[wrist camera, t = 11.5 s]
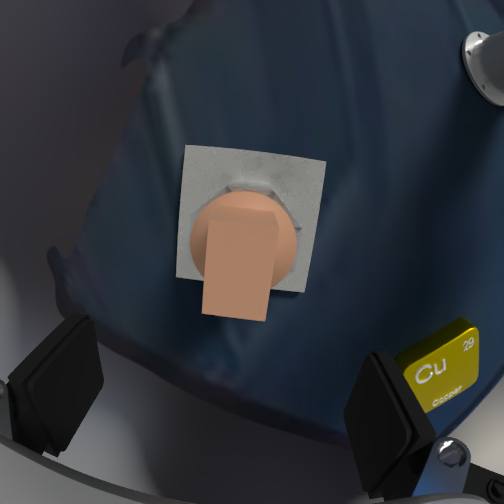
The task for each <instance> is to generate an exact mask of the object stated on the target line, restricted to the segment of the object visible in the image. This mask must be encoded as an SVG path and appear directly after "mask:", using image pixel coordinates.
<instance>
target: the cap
mask: <svg viewBox="0 0 504 504" xmlns="http://www.w3.org/2000/svg"><path fill="white" fill-rule="evenodd" d="M190 250H191V255H192V259H193V262H194V264H195V266H196V268H197V270H198V271H199V273H200V274H201V275H202V277H203V278H204V288H203V304H202V314H209V315H217V316H224V317H232V318H241V319H249V320H258V321H265V319H266V312H267V306H268V300H269V294H270V289H271V288H272V287H274V286H276V285H277V284H278V283H279V282H280V281H281V280H282V279H283V278H284V277H285V276H286V275H287V273H288V272H289V271H290V269H291V267H292V265H293V262H294V260H295V256H296V251H297V238H296V232H295V229H294V226H293V224H292V222H291V220H290V218H289V216H288V214H287V213H286V211H285V210H284V209H283V208H282V207H281V205H279V204H278V203H277V202H276V201H275V200H273V199H272V198H270V197H268V196H266V195H264V194H262V193H259V192H255V191H249V190H239V191H233V192H229V193H226V194H223V195H221V196H219V197H217V198H216V199H214V200H213V201H212V202H210V203H209V204H208V205H207V206H206V207H205V208H204V209H203V210H202V211H201V212H200V214H199V215H198V217H197V218H196V220H195V222H194V225H193V227H192V231H191V236H190Z"/></svg>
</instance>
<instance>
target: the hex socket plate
mask: <svg viewBox="0 0 504 504" xmlns="http://www.w3.org/2000/svg"><path fill="white" fill-rule="evenodd" d="M325 167H326V162H325V161H319V160H313V159H307V158H300V157H294V156H287V155H280V154H273V153H265V152H257V151H248V150H239V149H229V148H219V147H207V146H193V145H186V147H185V156H184V166H183V176H182V187H181V199H180V212H179V227H178V245H177V267H176V277H180V278H187V279H194V280H202V281H204V278H203V277H202V275H201V274H200V273H199V271H198V270H197V268H196V266H195V264H194V262H193V259H192V255H191V250H190V236H191V231H192V227H193V225H194V222H195V220H196V218H197V217H198V215H199V214H200V212H201V211H202V210H203V209H204V208H205V207H206V206H207V205H208V204H209V203H210V202H212V201H213V200H214V199H216V198H217V197H219V196H221V195H223V194H226V193H229V192H233V191H239V190H249V191H255V192H259V193H262V194H264V195H266V196H268V197H270V198H272V199H273V200H275V201H276V202H277V203H278V204H279V205H281V207H282V208H283V209H284V210H285V211H286V213H287V214H288V216H289V218H290V220H291V222H292V224H293V226H294V229H295V232H296V238H297V251H296V256H295V260H294V262H293V265H292V267H291V269H290V271H289V272H288V273H287V275H286V276H285V277H284V278H283V279H282V280H281V281H280V282H279V283H278V284H277V285H276V286H274V287H272V288H271V289H276V290H285V291H295V292H304V291H305V286H306V281H307V276H308V271H309V265H310V260H311V254H312V249H313V243H314V238H315V232H316V226H317V220H318V214H319V207H320V201H321V194H322V188H323V181H324V174H325Z"/></svg>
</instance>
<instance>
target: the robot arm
mask: <svg viewBox="0 0 504 504" xmlns="http://www.w3.org/2000/svg"><path fill="white" fill-rule="evenodd" d="M462 56H463V61H464V65H465V68H466V70H467V73H468V75H469V77H470V79H471V81H472V83H473V84H474V86H475V87H476V89H477V90H478V91H479V92H480V94H481V95H482V96H483V97H484V98H485V99H486V100H488V101H489V102H491V103H492V104H494V105H497V106H504V30H503V31H501V32H498V33H496V34H493V35H491V36H489V35H487V34H485V33H482V32H473V33H470V34H468V35H467V36H466V37H465V38H464V41H463V44H462ZM8 379H9V382H8V383H7V384H5V382H4V381H2V380H1V379H0V504H194V503H188V502H183V501H177V500H172V499H167V498H163V497H159V496H154V495H150V494H146V493H142V492H139V491H135V490H132V489H128V488H125V487H121V486H118V485H115V484H111V483H109V482H106V481H103V480H100V479H97V478H94V477H92V476H89V475H86V474H83V473H81V472H79V471H76V470H74V469H71V468H69V467H67V466H64V465H62V464H60V463H58V462H55V461H53V460H51V459H49V458H46V457H44V456H42V454H43V452H44V451H45V452H47V453H49V454H51V455H53V456H55V457H58V456H59V453H60V452H61V451H65V450H66V449H67V447H68V445H69V443H70V441H71V439H72V438H73V436H74V434H75V433H76V431H77V429H78V427H79V426H80V424H81V422H82V421H83V419H84V417H85V416H86V414H87V412H88V410H89V408H90V407H91V405H92V404H93V402H94V400H95V399H96V397H97V395H98V393H99V392H100V390H101V389H102V387H103V383H104V377H103V373H102V367H101V362H100V358H99V352H98V346H97V340H96V333H95V326H94V322H93V321H92V320H90V317H89V316H88V315H86V314H81V313H77V312H73V313H71V314H70V315H69V316H68V317H67V318H66V319H65V320H64V321H63V322H62V323H61V324H60V325H59V326H58V327H57V328H55V330H54V331H52V332H51V333H50V334H49V335H48V336H47V337H46V338H45V339H44V340H43V341H42V342H41V343H40V344H39V345H38V346H37V347H36V348H35V349H34V350H33V351H32V352H31V353H30V354H29V355H28V356H27V357H26V358H25V359H24V360H23V361H22V362H21V363H20V364H19V365H18V366H17V367H16V368H15V370H14V371H13V372H12V373H11V374H10V375H9V376H8ZM344 421H345V425H346V428H347V432H348V435H349V439H350V443H351V446H352V450H353V454H354V457H355V461H356V465H357V468H358V473H359V476H360V480H361V484H362V488H363V490H364V491H365V492H368V495H369V499H374V498H379V497H383V498H384V502H380V503H374V504H504V476H503V475H500V474H497V473H495V472H492V471H490V470H487V469H485V468H482V467H480V466H477V465H475V464H473V463H470V459H471V454H470V451H469V449H468V448H467V446H466V445H465V444H464V443H463V442H462V441H459V440H458V439H455V438H451V437H444V438H441V439H439V440H438V441H437V439H436V437H435V435H436V432H435V430H434V429H433V427H432V425H431V423H430V421H429V419H428V418H427V416H426V414H425V412H424V410H423V408H422V407H421V405H420V403H419V401H418V400H417V398H416V396H415V394H414V392H413V391H412V389H411V387H410V386H409V384H408V382H407V380H406V379H405V377H404V375H403V374H402V372H401V370H400V368H399V367H398V365H397V363H396V362H395V360H394V358H393V357H392V355H391V354H390V352H388V351H373V352H372V353H371V354H370V355H367V356H366V358H365V360H364V363H363V365H362V368H361V371H360V373H359V376H358V378H357V381H356V383H355V386H354V388H353V391H352V393H351V395H350V398H349V400H348V402H347V405H346V407H345V409H344Z"/></svg>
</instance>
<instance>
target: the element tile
mask: <svg viewBox="0 0 504 504" xmlns="http://www.w3.org/2000/svg"><path fill="white" fill-rule="evenodd" d="M395 362H396V363H397V365H398V367H399V368H400V370H401V372H402V374H403V375H404V377H405V379H406V380H407V382H408V384H409V386H410V387H411V389H412V391H413V392H414V394H415V396H416V398H417V400H418V401H419V403H420V405H421V407H422V408H423V410H424V412H425V413H427V412H429V411H431V410H432V409H434V408H436V407H438V406H439V405H441V404H443V403H444V402H446V401H448V400H449V399H451V398H453V397H454V396H456V395H458V394H459V393H461V392H462V391H464V390H465V389H467V388H468V387H470V386H471V385H472V384H473V383H475V381H476V380H477V377H478V370H479V332H478V329H477V328H476V327H475V326H474V325H473V324H472V323H471V322H470V321H468V320H467V319H466V318H465V317H460V318H458V319H456V320H455V321H453V322H451V323H450V324H448V325H447V326H445V327H443V328H442V329H440V330H438V331H437V332H435V333H433V334H432V335H430V336H428V337H426V338H425V339H423V340H421V341H419V342H418V343H416V344H414V345H412V346H410V347H408V348H407V349H405V350H403V351H402V352H400V353H399V354H398V355H397V357H396V359H395Z"/></svg>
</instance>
